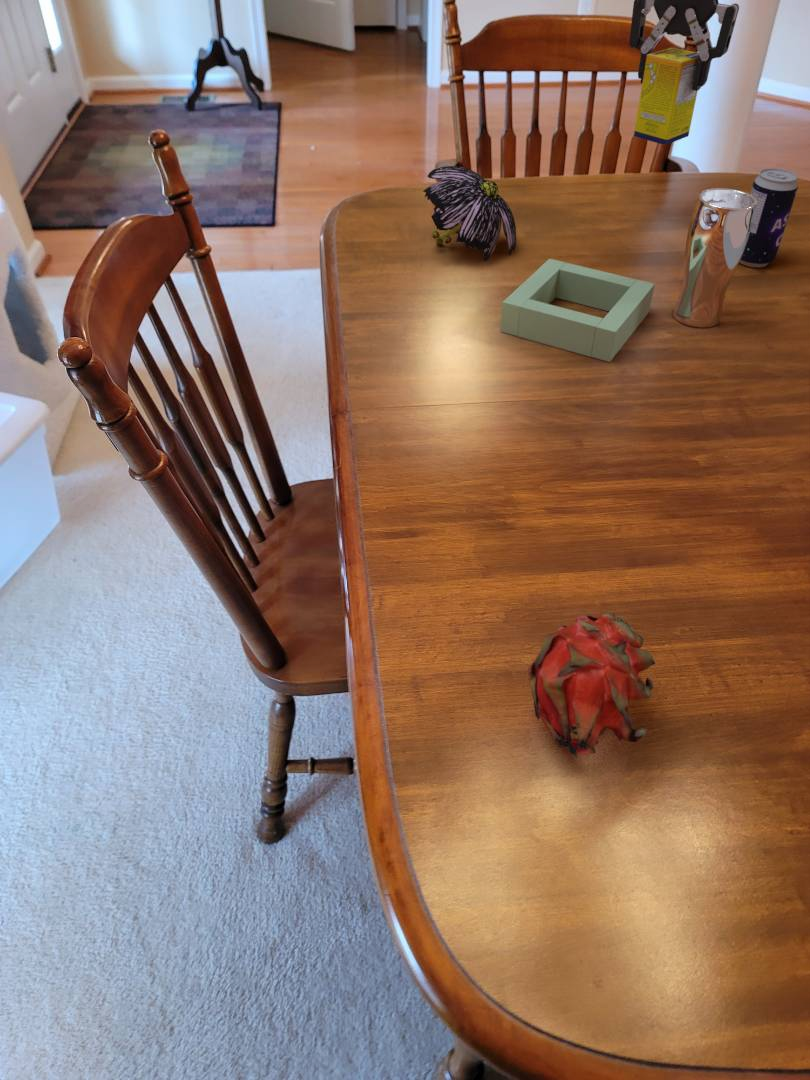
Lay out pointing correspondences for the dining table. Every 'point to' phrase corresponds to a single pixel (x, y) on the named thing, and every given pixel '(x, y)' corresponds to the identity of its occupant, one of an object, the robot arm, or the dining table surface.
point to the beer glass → (713, 254)
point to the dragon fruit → (590, 681)
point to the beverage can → (769, 215)
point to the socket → (572, 329)
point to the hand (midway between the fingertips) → (670, 85)
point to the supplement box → (667, 96)
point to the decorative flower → (469, 210)
